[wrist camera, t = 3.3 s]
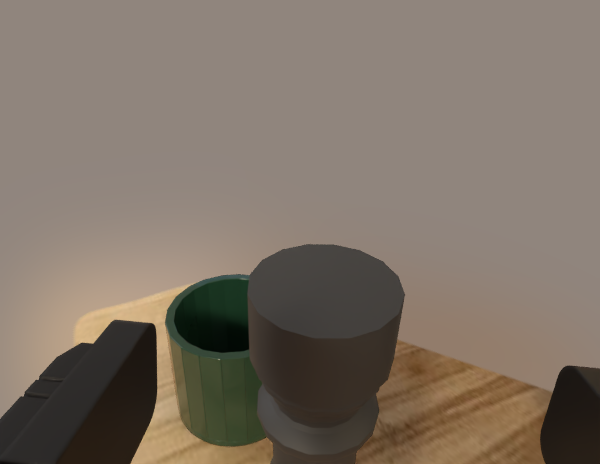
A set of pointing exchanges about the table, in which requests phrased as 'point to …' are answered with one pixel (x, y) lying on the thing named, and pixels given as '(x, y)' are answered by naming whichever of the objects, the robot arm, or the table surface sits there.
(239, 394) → the pot
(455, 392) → the table surface
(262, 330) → the candle holder
